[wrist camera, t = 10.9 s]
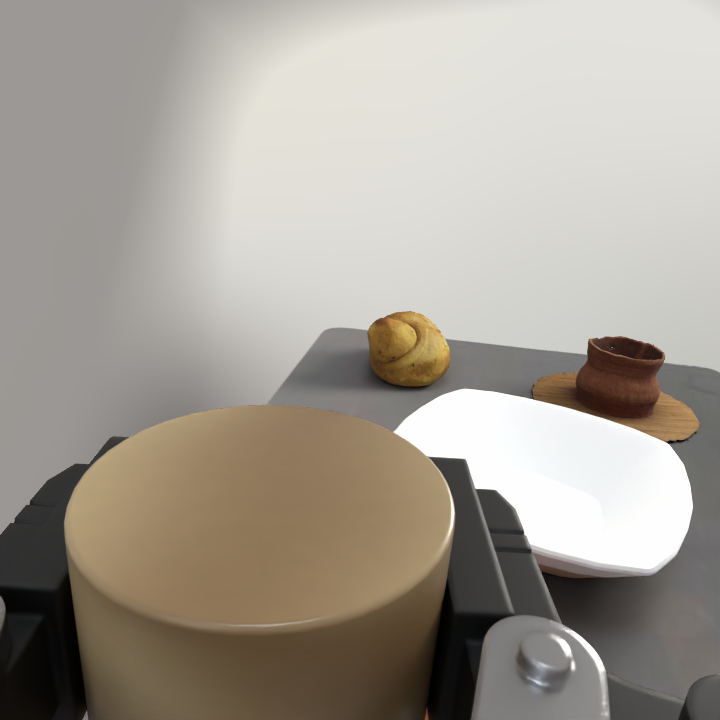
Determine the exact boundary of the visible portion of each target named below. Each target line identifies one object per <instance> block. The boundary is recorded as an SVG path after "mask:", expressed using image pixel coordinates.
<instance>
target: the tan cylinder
mask: <svg viewBox="0 0 720 720" xmlns="http://www.w3.org/2000/svg"><path fill="white" fill-rule="evenodd" d="M455 516H456V515H455V508H454V501H453V498H452V495H451V492H450V489H449V486H448V484H447V482H446V480H445V478H444V477H443V475H442V473H441V471H440V470H439V469H438V468H437V466H436V465H435V464H434V463H433V462H432V460H431V459H430V458H429V457H427V456H426V455H425V454H424V453H423V452H422V451H421V450H420V449H419V448H417V447H416V446H414V445H413V444H412V443H410V442H409V441H407V440H406V439H404V438H402V437H401V436H399V435H397V434H395V433H394V432H392V431H390V430H387V429H385V428H383V427H381V426H379V425H377V424H374V423H371V422H368V421H366V420H363V419H360V418H357V417H353V416H350V415H346V414H342V413H338V412H333V411H329V410H323V409H317V408H310V407H301V406H290V405H248V406H236V407H227V408H220V409H212V410H208V411H203V412H198V413H193V414H189V415H186V416H182V417H178V418H175V419H172V420H169V421H166V422H163V423H160V424H157V425H155V426H153V427H150V428H148V429H146V430H143V431H141V432H139V433H137V434H135V435H133V436H131V437H129V438H128V439H126V440H124V441H122V442H121V443H119V444H118V445H116V446H115V447H113V448H112V449H110V450H109V451H108V452H106V453H105V454H104V455H103V456H102V457H100V458H99V459H98V460H97V461H96V462H95V463H94V464H93V465H92V466H91V467H90V468H89V469H88V470H87V471H86V472H85V474H84V475H83V476H82V478H81V479H80V481H79V482H78V484H77V485H76V487H75V488H74V491H73V493H72V496H71V498H70V500H69V503H68V505H67V508H66V514H65V520H64V535H65V545H66V553H67V560H68V568H69V576H70V583H71V591H72V598H73V606H74V614H75V621H76V629H77V637H78V644H79V652H80V659H81V667H82V675H83V682H84V690H85V697H86V705H87V713H88V720H425V717H426V710H427V704H428V697H429V691H430V684H431V678H432V671H433V665H434V658H435V652H436V645H437V639H438V633H439V626H440V620H441V613H442V607H443V600H444V594H445V587H446V581H447V574H448V568H449V561H450V555H451V548H452V542H453V535H454V528H455Z"/></svg>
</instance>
